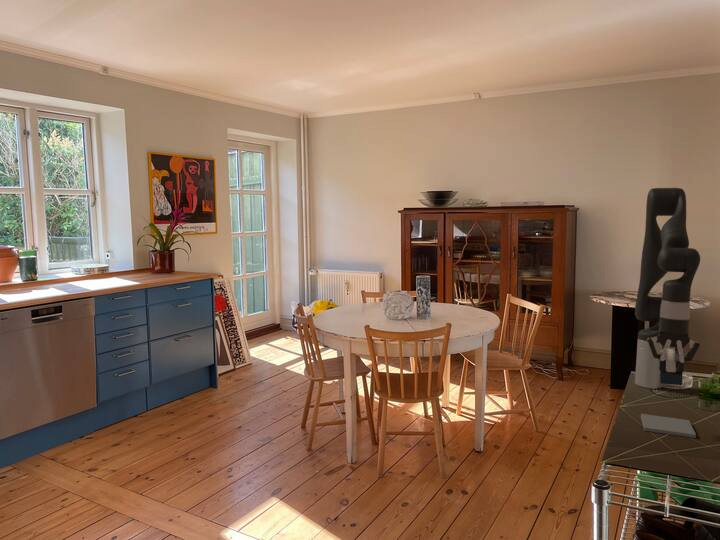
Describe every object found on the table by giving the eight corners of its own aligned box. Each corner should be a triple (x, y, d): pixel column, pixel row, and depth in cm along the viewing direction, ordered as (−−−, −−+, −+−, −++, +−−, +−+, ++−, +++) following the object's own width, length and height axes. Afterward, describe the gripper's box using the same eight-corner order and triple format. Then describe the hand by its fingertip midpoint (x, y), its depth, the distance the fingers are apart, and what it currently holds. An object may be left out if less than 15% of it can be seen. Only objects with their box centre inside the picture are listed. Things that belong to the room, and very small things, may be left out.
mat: (640, 416, 170) (640, 413, 170) (688, 423, 165) (688, 420, 165) (644, 430, 159) (644, 427, 159) (695, 438, 154) (696, 434, 154)
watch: (682, 379, 162) (682, 343, 161) (682, 387, 155) (681, 349, 155) (661, 378, 165) (660, 342, 164) (659, 385, 158) (659, 347, 158)
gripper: (700, 315, 159) (696, 373, 161) (646, 312, 164) (642, 367, 166) (705, 320, 152) (700, 380, 154) (648, 316, 158) (644, 374, 159)
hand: (670, 373), depth 160 cm, fingers closed on watch, 3 cm apart
